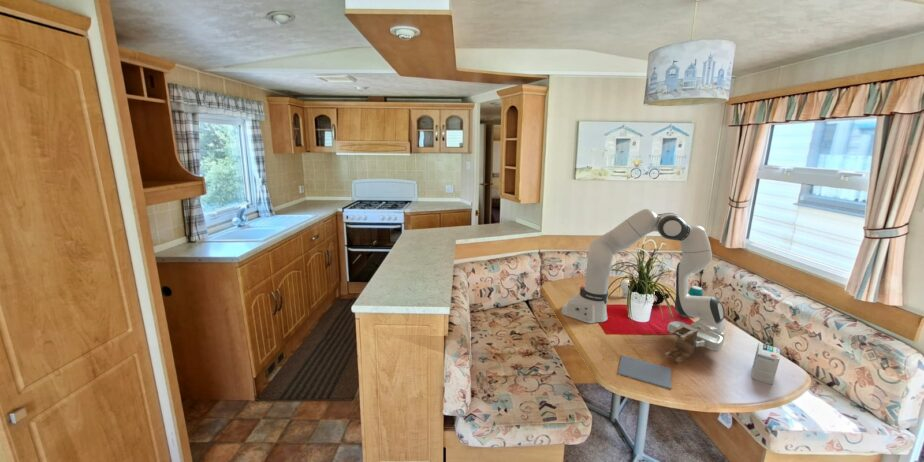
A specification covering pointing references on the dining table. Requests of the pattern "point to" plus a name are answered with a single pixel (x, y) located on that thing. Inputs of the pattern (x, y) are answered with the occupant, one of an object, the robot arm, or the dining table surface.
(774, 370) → the light bulb box
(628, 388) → the dining table surface
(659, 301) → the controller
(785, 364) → the dining table surface
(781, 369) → the dining table surface
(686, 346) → the stool
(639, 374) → the mat
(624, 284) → the lightbulb
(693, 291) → the beverage can
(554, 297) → the dining table surface
